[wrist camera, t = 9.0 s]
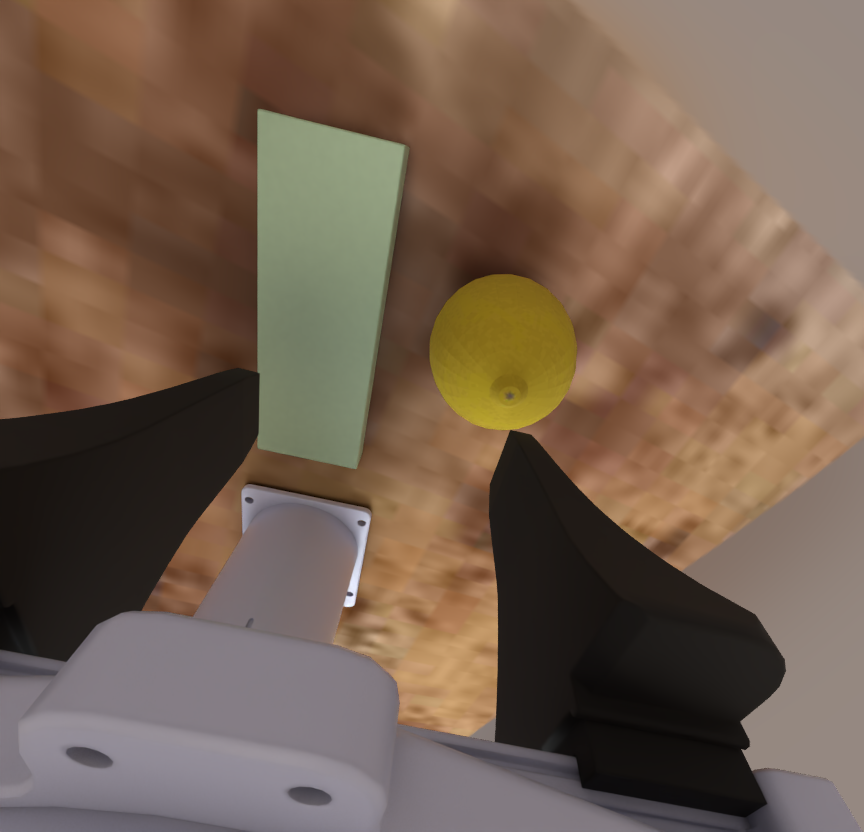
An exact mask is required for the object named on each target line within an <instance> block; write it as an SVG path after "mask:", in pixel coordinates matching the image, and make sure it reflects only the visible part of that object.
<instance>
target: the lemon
mask: <svg viewBox="0 0 864 832" xmlns="http://www.w3.org/2000/svg"><path fill="white" fill-rule="evenodd" d="M576 356H577V343H576V338H575V334H574V329H573V325H572V322H571V320H570V318H569V316H568V314H567V313H566V311H565V309H564V307H563V305H562V304H561V302H560V301H559V300H558V299H557V298H556V297H555V296H554V295H553V294H552V293H551V292H550V291H549V290H548V289H547V288H545V287H543V286H542V285H540V284H538V283H536V282H534V281H533V280H531V279H529V278H525V277H521V276H517V275H512V274H492V275H489V276H485V277H482V278H478V279H475V280H473V281H472V282H470V283H468V284H467V285H465V286H463V287H461V288H460V289H459V290H458V291H457V292H456V293H455V294H454V295H453V296H452V297H451V298H449V299H448V300H447V301H446V303H445V305H444V306H443V308H442V310H441V311H440V313H439V314H438V316H437V318H436V320H435V324H434V327H433V330H432V334H431V337H430V364H431V369H432V373H433V377H434V380H435V383H436V385H437V387H438V389H439V391H440V393H441V394H442V396H443V398H444V400H445V401H446V402H447V403H448V405H449V406H450V407H451V408H452V409H453V410H454V411H455V412H456V413H457V414H458V415H460V416H461V417H463V418H464V419H466V420H467V421H469V422H471V423H472V424H475V425H478V426H481V427H484V428H487V429H496V430H511V429H519V428H522V427H525V426H528V425H531V424H533V423H535V422H537V421H538V420H540V419H542V418H544V417H545V416H547V415H548V414H549V413H550V412H551V411H552V410H553V409H555V408H556V407H557V406H558V405H559V403H560V402H561V400H562V399H563V397H564V396H565V395H566V393H567V392H568V390H569V388H570V385H571V382H572V379H573V376H574V373H575V369H576Z"/></svg>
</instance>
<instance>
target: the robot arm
mask: <svg viewBox="0 0 864 832" xmlns="http://www.w3.org/2000/svg"><path fill="white" fill-rule="evenodd" d="M259 391H260V373H257V372H253V371H249V370H244V369H240V368H236V369H231V370H227V371H223V372H220V373H216V374H213V375H210V376H207V377H204V378H200V379H197V380H194V381H191V382H188V383H184V384H181V385H178V386H175V387H172V388H168V389H165V390H161V391H157V392H154V393H150V394H146V395H143V396H139V397H136V398H132V399H128V400H124V401H119V402H115V403H110V404H105V405H100V406H95V407H90V408H85V409H79V410H73V411H66V412H58V413H51V414H44V415H36V416H29V417H21V418H10V419H0V832H863V831H862V830H861V828H860V827H859V825H858V823H857V822H856V820H855V818H854V817H853V815H852V813H851V812H850V810H849V808H848V807H847V805H846V803H845V802H844V800H843V798H842V797H841V795H840V794H839V792H838V790H837V789H836V787H835V786H834V784H833V782H831V781H829V780H828V779H826V778H821V777H816V776H811V775H806V774H801V773H795V772H790V771H785V770H780V769H770V768H764V769H757V770H754V771H751V769H750V767H749V765H748V762H747V760H746V758H745V756H744V754H743V752H742V750H741V749H744V750H746V749H747V748H748V747H749V746H750V741H749V738H748V737H747V735H746V733H745V731H744V729H743V727H742V725H741V723H740V721H741V720H743V719H744V718H745V717H746V716H747V715H749V714H750V713H751V712H752V711H753V710H754V709H756V708H757V707H758V706H759V705H761V704H762V703H763V702H764V701H765V700H767V699H768V698H769V697H770V696H771V695H772V694H773V693H774V692H775V691H776V690H777V688H779V686H780V684H781V682H782V679H783V677H784V674H785V672H786V669H785V659H784V658H783V656H782V655H781V653H780V652H779V650H778V649H777V647H776V645H775V644H774V642H773V641H772V639H771V638H770V636H769V635H768V633H767V632H766V630H765V629H764V627H763V625H762V624H761V622H760V621H759V619H758V618H757V616H756V615H755V614H753V613H752V612H750V611H748V610H746V609H744V608H743V607H741V606H739V605H737V604H735V603H734V602H732V601H730V600H728V599H726V598H725V597H723V596H721V595H719V594H717V593H716V592H714V591H712V590H710V589H708V588H707V587H705V586H703V585H702V584H700V583H698V582H697V581H695V580H694V579H692V578H690V577H689V576H687V575H686V574H684V573H682V572H681V571H679V570H678V569H676V568H675V567H673V566H672V565H670V564H669V563H667V562H666V561H664V560H663V559H661V558H660V557H658V556H657V555H655V554H654V553H653V552H651V551H650V550H649V549H647V548H646V547H645V546H643V545H642V544H641V543H639V542H638V541H637V540H635V539H634V538H633V537H631V536H630V535H629V534H628V533H626V532H625V531H624V530H623V529H621V528H620V527H619V526H618V525H617V524H616V523H614V522H613V521H612V520H611V519H610V518H609V517H607V516H606V515H605V514H604V513H603V512H602V511H601V510H600V509H599V508H598V507H596V506H595V505H594V504H593V503H592V502H591V501H590V500H589V499H588V498H587V497H586V496H585V495H584V494H583V493H582V492H581V491H580V490H579V489H578V487H577V486H576V485H575V484H574V483H573V482H572V481H571V480H570V479H569V478H568V476H567V475H566V474H565V473H564V472H563V471H562V470H561V469H560V467H559V466H558V465H557V464H556V463H555V461H554V460H553V459H552V458H551V457H550V456H549V454H548V453H547V452H546V451H545V450H544V448H543V447H542V446H541V445H540V444H539V443H538V441H537V440H536V439H535V438H534V437H533V436H532V435H530V434H526V433H521V432H517V431H512V430H510V433H509V435H508V438H507V441H506V443H505V446H504V449H503V451H502V454H501V457H500V459H499V462H498V465H497V467H496V470H495V472H494V475H493V478H492V480H491V483H490V495H489V519H490V528H491V537H492V546H493V554H494V563H495V571H496V580H497V592H498V677H497V708H496V731H495V742H492V741H486V740H482V739H476V738H471V737H466V736H460V735H455V734H450V733H444V732H439V731H433V730H428V729H423V728H417V727H412V726H407V725H401V724H397V721H398V713H399V704H400V702H399V695H398V688H397V682H396V681H395V680H394V679H393V677H392V676H391V675H390V674H389V673H388V672H386V671H385V670H384V669H383V668H382V667H381V666H380V665H379V664H378V663H376V662H375V661H374V660H373V659H372V658H371V657H369V656H366V655H363V654H360V653H358V652H355V651H352V650H349V649H347V648H344V647H341V646H338V645H334V644H333V641H334V638H335V634H336V630H337V627H338V623H339V620H340V616H341V613H342V609H343V606H346V607H352V606H354V604H355V601H356V596H357V591H358V586H359V580H360V575H361V570H362V564H363V559H364V553H365V548H366V543H367V537H368V532H369V527H370V521H371V516H372V513H371V511H370V510H369V509H367V508H365V507H360V506H355V505H350V504H345V503H340V502H336V501H331V500H326V499H321V498H316V497H311V496H306V495H302V494H297V493H292V492H287V491H282V490H277V489H272V488H267V487H263V486H258V485H253V484H247V485H245V486H244V488H243V489H242V492H241V495H242V534H243V536H242V538H241V539H240V541H239V542H238V544H237V546H236V547H235V549H234V551H233V552H232V554H231V556H230V557H229V559H228V560H227V562H226V564H225V565H224V567H223V569H222V570H221V572H220V573H219V575H218V577H217V578H216V580H215V582H214V583H213V585H212V587H211V588H210V590H209V591H208V593H207V595H206V596H205V598H204V600H203V601H202V603H201V604H200V606H199V608H198V609H197V611H196V613H195V614H194V616H193V617H190V616H185V615H180V614H175V613H170V612H154V611H141V610H142V608H143V607H144V605H145V603H146V601H147V599H148V598H149V596H150V594H151V593H152V591H153V589H154V588H155V586H156V584H157V582H158V581H159V579H160V577H161V576H162V574H163V572H164V571H165V569H166V567H167V565H168V564H169V562H170V561H171V559H172V557H173V556H174V554H175V553H176V551H177V549H178V548H179V546H180V545H181V543H182V541H183V540H184V538H185V537H186V535H187V534H188V532H189V531H190V529H191V528H192V527H193V525H194V524H195V522H196V521H197V520H198V518H199V517H200V516H201V515H202V513H203V512H204V511H205V510H206V508H207V507H208V506H209V505H210V503H211V502H212V501H213V500H214V498H215V497H216V496H217V494H218V493H219V492H220V491H221V489H222V488H223V487H224V486H225V484H226V483H227V482H228V481H229V479H230V478H231V477H232V475H233V474H234V473H235V472H236V470H237V469H238V468H239V466H240V465H241V464H242V462H243V461H244V459H245V458H246V456H247V454H248V453H249V451H250V449H251V447H252V445H253V444H254V442H255V440H256V438H257V436H258V434H259ZM249 497H251V498H252V499H250V498H249ZM360 520H363V521H365V522H362V521H360Z"/></svg>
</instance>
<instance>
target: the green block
mask: <svg viewBox="0 0 864 832" xmlns="http://www.w3.org/2000/svg"><path fill="white" fill-rule="evenodd" d="M408 156H409V147H408V146H406V145H404V144H400V143H396V142H392V141H388V140H384V139H380V138H376V137H372V136H368V135H364V134H360V133H356V132H352V131H348V130H344V129H340V128H336V127H332V126H328V125H324V124H319V123H315V122H311V121H307V120H303V119H299V118H295V117H291V116H287V115H283V114H279V113H275V112H271V111H267V110H263V109H258V373H260V391H259V434H258V449H262V450H267V451H272V452H276V453H281V454H286V455H291V456H295V457H300V458H305V459H310V460H314V461H319V462H324V463H329V464H334V465H338V466H343V467H348V468H353V469H356V468H357V466H358V464H359V461H360V458H361V455H362V451H363V445H364V439H365V432H366V426H367V419H368V413H369V406H370V400H371V393H372V387H373V381H374V374H375V368H376V361H377V355H378V348H379V342H380V336H381V329H382V323H383V316H384V310H385V303H386V297H387V291H388V284H389V278H390V271H391V265H392V258H393V252H394V246H395V239H396V233H397V226H398V220H399V213H400V207H401V201H402V194H403V188H404V181H405V175H406V168H407V162H408Z"/></svg>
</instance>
